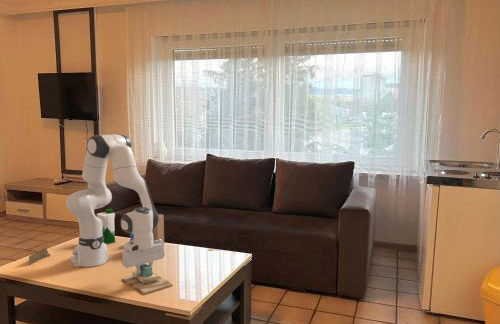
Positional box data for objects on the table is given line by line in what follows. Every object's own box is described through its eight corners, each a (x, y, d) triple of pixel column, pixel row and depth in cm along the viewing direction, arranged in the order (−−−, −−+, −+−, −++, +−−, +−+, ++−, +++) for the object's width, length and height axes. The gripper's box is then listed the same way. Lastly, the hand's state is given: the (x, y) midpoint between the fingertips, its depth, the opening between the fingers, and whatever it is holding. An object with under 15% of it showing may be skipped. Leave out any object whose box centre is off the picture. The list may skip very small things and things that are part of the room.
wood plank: (31, 265, 213) (31, 256, 213) (28, 265, 214) (27, 256, 213) (50, 255, 228) (49, 247, 228) (46, 255, 229) (46, 246, 228)
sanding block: (132, 277, 196) (132, 263, 195) (144, 273, 200) (143, 260, 199) (145, 284, 187) (144, 270, 186) (156, 281, 191) (156, 267, 190)
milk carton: (117, 242, 253) (116, 209, 250) (103, 245, 246) (102, 212, 244) (109, 239, 258) (108, 207, 256) (96, 242, 251) (94, 210, 249)
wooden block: (157, 253, 233) (156, 218, 231) (141, 252, 235) (140, 217, 233) (164, 247, 243) (164, 214, 240) (148, 246, 245) (148, 213, 242)
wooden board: (121, 279, 195) (121, 277, 195) (148, 272, 205) (148, 270, 205) (144, 294, 179) (144, 292, 179) (172, 285, 189) (172, 283, 189)
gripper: (159, 236, 201) (160, 264, 202) (119, 245, 187) (120, 275, 189) (166, 239, 196) (167, 268, 198) (126, 249, 182) (127, 279, 184)
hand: (144, 271), depth 193 cm, fingers closed on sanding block, 3 cm apart
